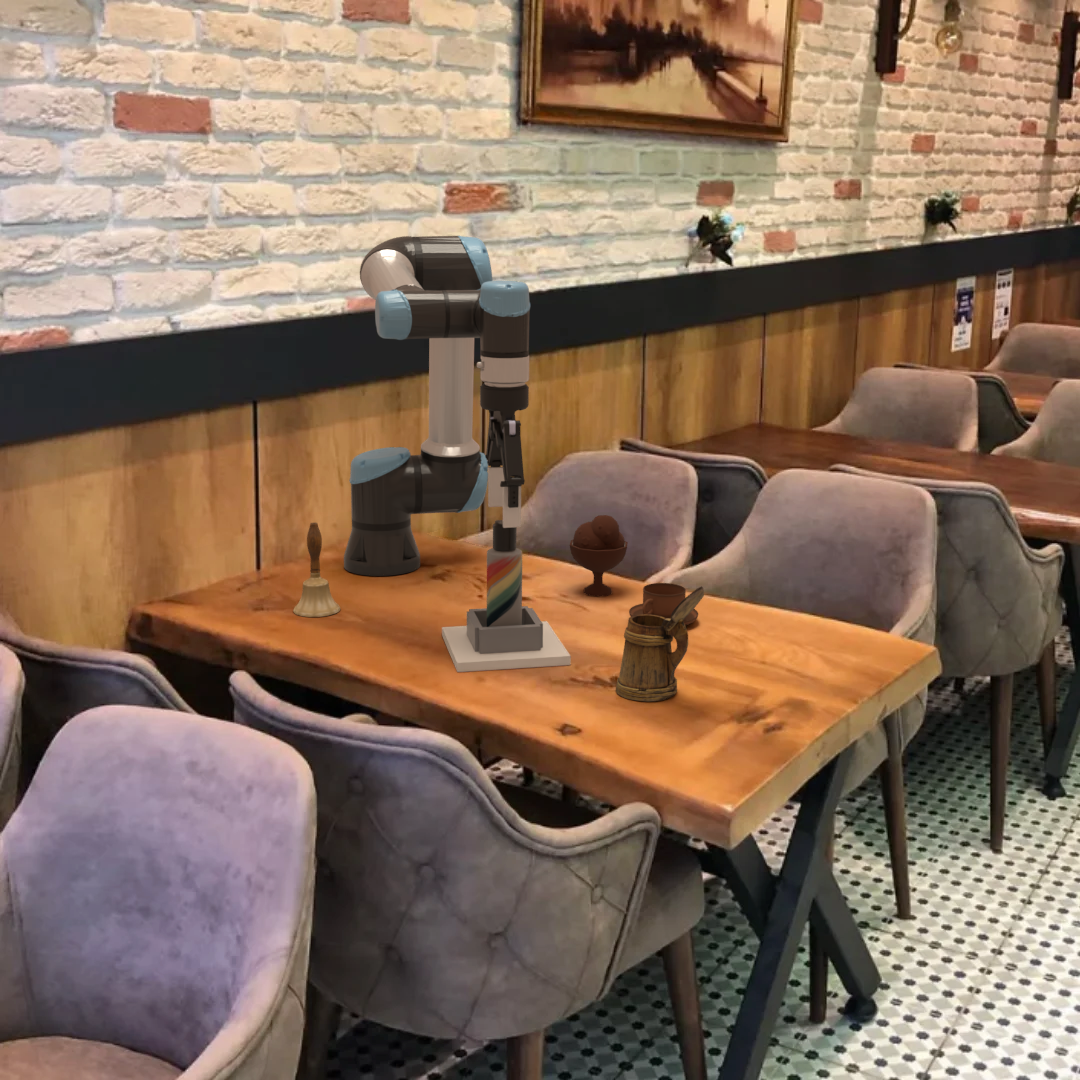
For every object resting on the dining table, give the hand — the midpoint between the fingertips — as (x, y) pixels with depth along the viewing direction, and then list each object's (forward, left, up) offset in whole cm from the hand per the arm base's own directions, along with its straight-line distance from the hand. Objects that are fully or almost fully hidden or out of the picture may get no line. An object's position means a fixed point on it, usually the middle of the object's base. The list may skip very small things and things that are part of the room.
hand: (504, 516), depth 209 cm
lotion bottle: (0, 0, -21) cm, 21 cm away
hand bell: (-27, -29, -23) cm, 45 cm away
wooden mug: (+24, +19, -23) cm, 38 cm away
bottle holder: (0, 0, -22) cm, 22 cm away
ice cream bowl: (-29, +23, -23) cm, 43 cm away
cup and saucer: (-9, +30, -23) cm, 39 cm away
